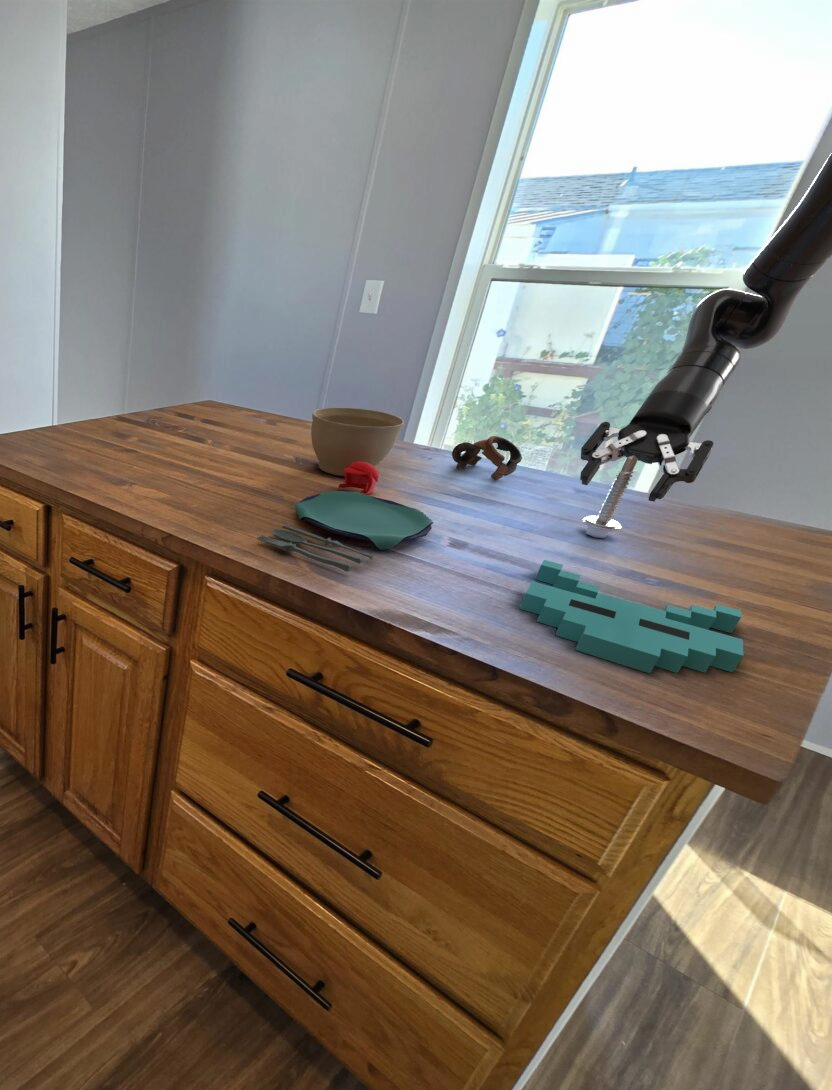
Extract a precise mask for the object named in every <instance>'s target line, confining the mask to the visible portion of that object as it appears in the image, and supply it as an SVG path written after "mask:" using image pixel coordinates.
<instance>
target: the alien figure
mask: <svg viewBox="0 0 832 1090" xmlns="http://www.w3.org/2000/svg"><path fill="white" fill-rule="evenodd" d="M563 567H564V564H563V563H558V562H555V561H551V560H547V559H543V561H542V563H541V565H540V567H539V569H538V571H537V573H536V575H535V578H534V580H535V581H531V582H530V584H529V586H528V588H527V589H526V591H525V594H524V596H523V598H522V601H521V603H520V605H519V607H518V609H519V610H523V611H526V612H530V613H533V614H536V615H538V617H537V619H536V622H538V623H541V624H543V625H547V626H550V627H553V628H556V629H557V630H556V632H555V635H554V636H557V637H561V638H564V639H567V640H570V641H573V642H576V643H577V644H576V647H575V651H578V652H580V653H584V654H587V655H590V656H594V657H597V658H600V659H603V660H606V661H609V662H612V663H616V664H618V665H621V666H624V667H629V668H631V669H633V670H636V671H637V670H638V671H639V672H640V671H641V672H644V673H647V674H651V673H652V670H653V669H654V668H655V667H656V668H660V669H662V670H666V671H670V672H671V673H672V672H673V673H675V674H678V673H679V672H680V670H681V668H682V667H685V668H688V669H692V670H694V671H698V672H701V673H706V672H707V671H708V669H709V667H713V668H716V669H719V670H723V671H726V672H729V673H733V672H734V671H735V669H736V668H737V666H738V665H739V663H740V662H741V661H742V659H743V657H744V655H745V654H744V640H743V638H739V637H735V636H732V635H728V634H725V633H722V632H726V633H729V634H732V633H733V631H734V630H735V628H736V627H737V625H738V624H739V622H740V620H741V618H742V610H741V609H736V608H733V607H729V606H725V605H721V604H718V603H717V604H715V605H714V607H713V609H711V608H708V607H703V606H699V605H697V604H696V605H695V604H691V605H690V607H689V609H687V608H686V609H685V608H681V607H678V606H674V605H671V604H666V606H665V608H664V609H660V608H656V607H652V606H648V605H644V604H641V603H637V602H634V601H630V600H626V599H623V598H619V597H617V596H612V595H609V594H605V593H601V592H599V590H600V588H601V586H600V585H595V584H592V583H588V582H584V581H582V580H580V579H581V577H582V575H581V574H577V573H574V572H570V571H566V570H563V569H562V568H563ZM537 581H540V582H543V583H540V582H537ZM544 583H547V584H550V585H547V584H544ZM551 585H553V586H551ZM710 628H711V629H714V630H719V631H722V632H717V631H714V630H710Z"/></svg>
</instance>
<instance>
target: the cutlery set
mask: <svg viewBox="0 0 832 1090" xmlns="http://www.w3.org/2000/svg"><path fill="white" fill-rule="evenodd" d="M359 492H360V491H346V490H345V491H343V490H334V491H333V490H326V491H323V492H322V493H318V494H313V495H309V496H306V497H304V498H303V499H301V500H300V501H299V502H297V503H296V504H295V505H294V511H295V513H296V514H297V516H298V518H299V519H300V521H305V520H306V521H308V522H310V523H311V524H313V525H314V526H316V527H318V528H321V529H323V530H325V531H328V532H329V533H333V534H337V535H340V536H344V537H347V538H352V539H359V540H365V541H371V542H372V543H374V544H375V546H376V547H377V549H378V550H380V551H384V550H388V549H390V548H393V547H396V546H397V545H398V544H399V543H400V542H407V541H414V540H417V539H420V538H423V537H426V536H427V535H428V534H429V533H430V532H431V531H432V529H433V527H432V525H433V524H434V521H433V520H432V519H431V518H429V516H427V514H425V513H424V512H423V511H422V510H420V509H417V508H415V507H410V506H407V505H404V504H402V503H398V502H395V501H392V500H390V499H384V498H381V497H376V496H371V495H366V494H363V493H359ZM281 528H282V529H279V528H272V529H269V531H270V532H271V534H273V535H274V537H275V539H274V538H271V537H268V536H265V535H263V534H261V535H260V536H257V537H256V539H257V540H259V541H260V542H262V543H265V544H268V545H270V546H273V547H275V548H277V549H279V550H282V551H284V552H287V553H292V552H297V553H298V554H301V555H303V556H305V557H306V558H309V559H312V560H314V561H317V562H319V563H322V564H325V565H329V566H332V567H335V568H338V569H340V570H342V571H344V572H347V573H348V572H350V571H351V570H352V567H353V565H352V564H350V563H346V562H342V561H340V560H337V559H332V558H328V557H325V556H321V555H319V554H316V553H312V552H310V551H308V550H305V549H303V548H301V547H299V546H297V545H304V546H308V547H311V548H314V549H318V550H320V551H323V552H328V553H331V554H333V555H336V556H339V557H341V558H345V559H347V560H349V561H351V562H354V563H356V564H359V565H360V564H363V563H364V560H365V558H364V557H366V558H368V559H369V560H370V561H373V559H374V556H375V554H369V553H367V552H364V551H360V550H357V549H354V548H352V547H350V546H347V545H345V544H343V543H341V542H340V541H338V540H332V539H331V537H328V538H324V537H322V536H320V535H317V534H314V533H312V532H309V531H306V530H304V529H300V528H297V527H295V526H291V525H285V524H282V526H281ZM304 536H305V537H308V538H310V539H314V540H316V541H319V542H322V543H324V546H322V545H319V544H315V543H310V542H308V541H307V539H306V538H305V537H304ZM328 545H330V546H331V547H333V548H331V547H328ZM326 546H327V547H326ZM334 547H335V548H342V549H345V550H348V551H351V552H353V553H356V554H359V555H361V556H357V555H353V554H352V553H347V552H345V551H342V550H338V549H335V548H334ZM362 556H364V557H362Z"/></svg>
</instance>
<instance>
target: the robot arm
mask: <svg viewBox="0 0 832 1090" xmlns="http://www.w3.org/2000/svg"><path fill="white" fill-rule="evenodd" d="M831 257H832V152H831V153H830V154H829V156H828V158H827V159H826V161H825V162H824V164H823V165H822V167H821V169H820V170H819V172H818V174H817V175H816V176H815V178H814V180H813V181H812V183H811V185H810V186H809V188H808V189H807V190H806V192H805V194H804V195H803V197H802V198H801V200H800V201H799V202H798V204H797V206H795V208H794V210H792V212H791V213H790V214H789V216H788V217H787V219H785V220H784V222H783V224H782V225H781V226H780V227H779V228H778V230H777V231H776V232H775V233H774V234H773V235H772V237H770V239H769V240H768V242H766V243H765V245H764V246H763V248H762V249H761V250H760V251H759V252H758V254H756V256H755V257H754V258H753V259H752V260H751V261H750V263H749V264H748V265H747V267H746V268H745V269H744V272H743V274H742V282H743V284H744V285H745V286H746V287H747V288H748V289H749V290H751V291H752V292H754V293H756V294H753V293H750V292H745V291H742V290H739V289H733V288H722V289H719V290H716V291H714V292H712V293H710V294H709V295H707V296H706V297H704V298H702V300H701V301H699V303H698V304H697V306H696V307H695V309H694V310H693V312H692V314H691V316H690V318H689V319H690V320H689V322H688V325H687V329H686V335H685V338H684V343H683V345H682V348H681V350H680V352H679V355H677V357H676V359H675V361H674V362H673V363H672V365H671V366H670V367H669V369H668V370H667V372H666V373H665V374H664V376H663V377H662V378H661V379H660V380H659V381H658V382H657V383H656V385H654V387H653V389H652V390H651V391H650V393H649V394H648V396H647V397H646V399H645V400H644V402H642V404H641V406H640V407H639V409H638V410H637V411H636V413H635V414H634V416H633V417H632V419H630V422H629V423H628V424H627V425H625V426H623V427H622V428H619V427H615V426H612V425H611V423H610V422H609V421H603V422H601V423H600V424H599V426H598V427H596V429H595V430H594V432H593V433H592V434H591V435H590V436H589V438H588V439H587V440H586V441H585V443H584V444H583V445H582V447H580V448H581V449H580V460H581V461H586V464H585V466H584V467H583V469H581V471H580V477H579V481H581V485H583V486H589V484H590V482H591V481H592V480H593V478H594V477H595V475H596V474H597V472H598V471H599V469H600V468H601V466H602V465H604V464H606V463H609V462H616V461H618V460H620V459H621V460H622V458H626V459H627V458H628V457H630V456H635V457H637V458H638V460H637V462H638V461H639V462H641V463H643V464H649V465H652V464H658V466H659V469H660V472H661V473H662V476H661V477H660V478H659V479H658V481H657V482H656V484H655V485H654V487H653V489H651V491H650V493H649V495H648V498H647V499H648V500H647V501H649V502H653V503H654V502H656V500H662V499H663V498H665V496H666V495H667V494H668V492H669V490H671V487H672V486H673V485H674V484H676V483H678V482H683V483H686V484H692V483H694V482H695V481H696V479H697V477H698V475H700V472H701V470H702V469H703V467H704V465H705V464H706V462H707V460H708V459H709V457H710V455H711V453H712V450H713V446H714V441H713V440H711V439H710V440H709V439H707V440H704V441H702V442H696V441H690V438H691V436H692V435H693V434H694V432H695V431H696V429H697V428H698V427H699V425H700V424H701V422H702V421H703V420H704V418H705V416H706V415H707V414H708V413H709V412H710V411H711V410H712V408H713V405H714V404H715V403H716V401H717V398H718V396H719V395H720V392H721V390H722V389H723V387H724V386H725V385H726V383H727V382H728V380H729V378H730V377H731V375H732V374H733V373H734V371H735V370H736V369H737V367H738V366H739V364H740V362H741V357H742V355H741V351H740V350H739V349H743V350H750V349H754V348H758V347H760V346H761V347H762V345H765V344H766V343H769V341H771V340H772V339H773V338H774V337H775V336H776V335H777V334H779V332H780V330H781V329H782V327H783V325H784V324H785V322H786V319H787V318H788V316H789V313H790V312H791V309H792V306H793V304H794V303H795V301H796V299H797V297H798V295H799V294H800V292H801V291H802V289H803V288H804V287H805V286H806V284H807V283H808V282H809V281H810V280H811V279H812V277H814V275H815V274H817V272H818V271H819V270H820V269H821V268H822V267H823V266H824V265H825V264H826V263H827V262H828V261H829V259H830V258H831ZM613 438H617V440H616V441H613V442H611V443H609V444H608V445H607V446H606V447H604V448H601V449H599V447H600V446H601V445H602V444H603V443H604V442H608V441H609V440H611V439H613ZM686 451H688V452H689V457H690V458H692V459H691V461H690V463H689V464H688V466H687V468H679V465H678V463H677V459H676V456H677V455H680V454H682V453H684V452H686Z"/></svg>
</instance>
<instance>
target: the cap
mask: <svg viewBox="0 0 832 1090" xmlns="http://www.w3.org/2000/svg"><path fill="white" fill-rule="evenodd" d="M344 471H345V476H344V482H343V483H339V484H338V489H346V488H353V489H354V488H355V489H360V491H358V492H359V493H363V494H366V495H368V496H371V495H372V494H373V492H374V489H375V487H376V485H377V483H378V481H379V479H380V474H379V472H378V469H377V468H376V466H375V467H374V466H373V465H371V464H369V463H367V462H361V461H359V462H353V463H352V464H351V465H349V467H347V468H345V469H344Z"/></svg>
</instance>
